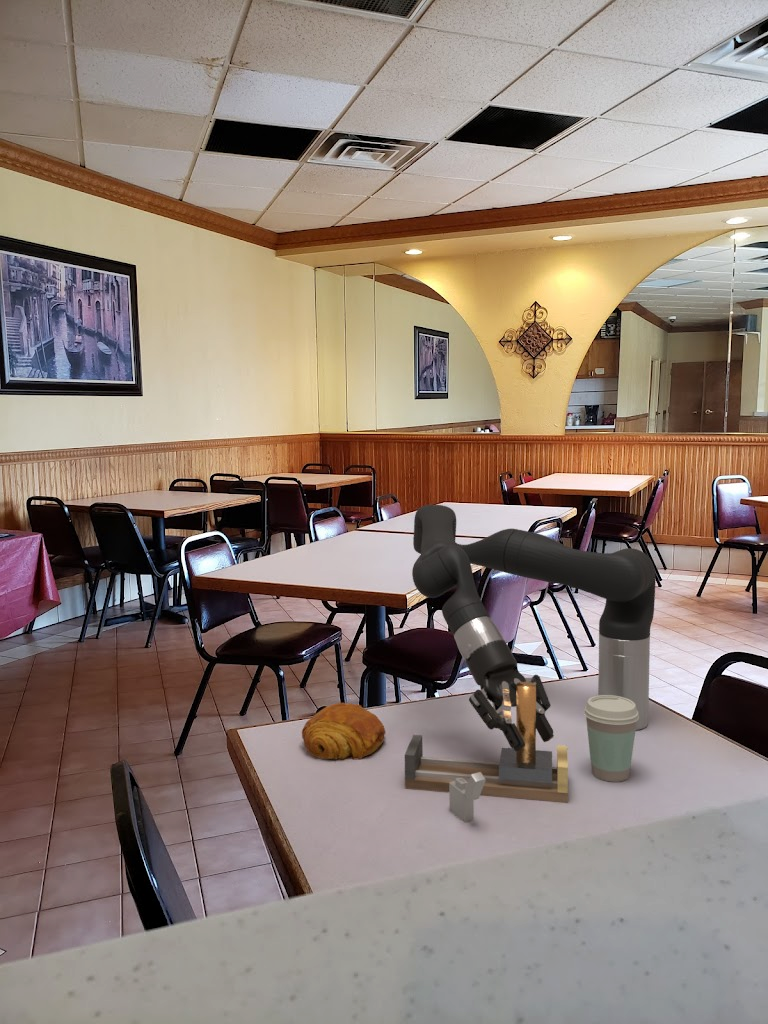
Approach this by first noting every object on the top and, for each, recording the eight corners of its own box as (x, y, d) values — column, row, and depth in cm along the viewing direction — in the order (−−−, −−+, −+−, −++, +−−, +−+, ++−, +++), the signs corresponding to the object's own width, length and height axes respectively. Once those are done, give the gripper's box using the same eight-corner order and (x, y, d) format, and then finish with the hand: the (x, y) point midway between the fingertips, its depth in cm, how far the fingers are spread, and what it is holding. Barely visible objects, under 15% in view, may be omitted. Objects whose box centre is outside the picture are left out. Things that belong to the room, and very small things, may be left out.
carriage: (501, 759, 122) (501, 676, 121) (551, 763, 121) (552, 679, 119) (498, 778, 116) (498, 691, 114) (551, 783, 114) (552, 694, 112)
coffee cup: (638, 766, 125) (639, 696, 124) (637, 789, 117) (639, 715, 116) (585, 759, 128) (586, 691, 126) (581, 782, 120) (582, 709, 118)
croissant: (290, 765, 133) (284, 724, 131) (336, 722, 146) (331, 684, 144) (360, 779, 126) (355, 736, 124) (402, 733, 139) (397, 694, 137)
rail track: (413, 766, 126) (413, 734, 126) (566, 778, 121) (566, 745, 120) (405, 788, 118) (404, 754, 118) (567, 802, 113) (567, 767, 112)
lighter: (448, 809, 112) (448, 758, 111) (458, 807, 112) (458, 755, 112) (476, 832, 105) (475, 777, 104) (486, 828, 106) (486, 775, 105)
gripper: (506, 654, 131) (556, 743, 122) (440, 669, 123) (488, 766, 115) (527, 631, 126) (581, 722, 117) (460, 646, 118) (512, 744, 110)
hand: (534, 743), depth 116 cm, fingers open, 5 cm apart
